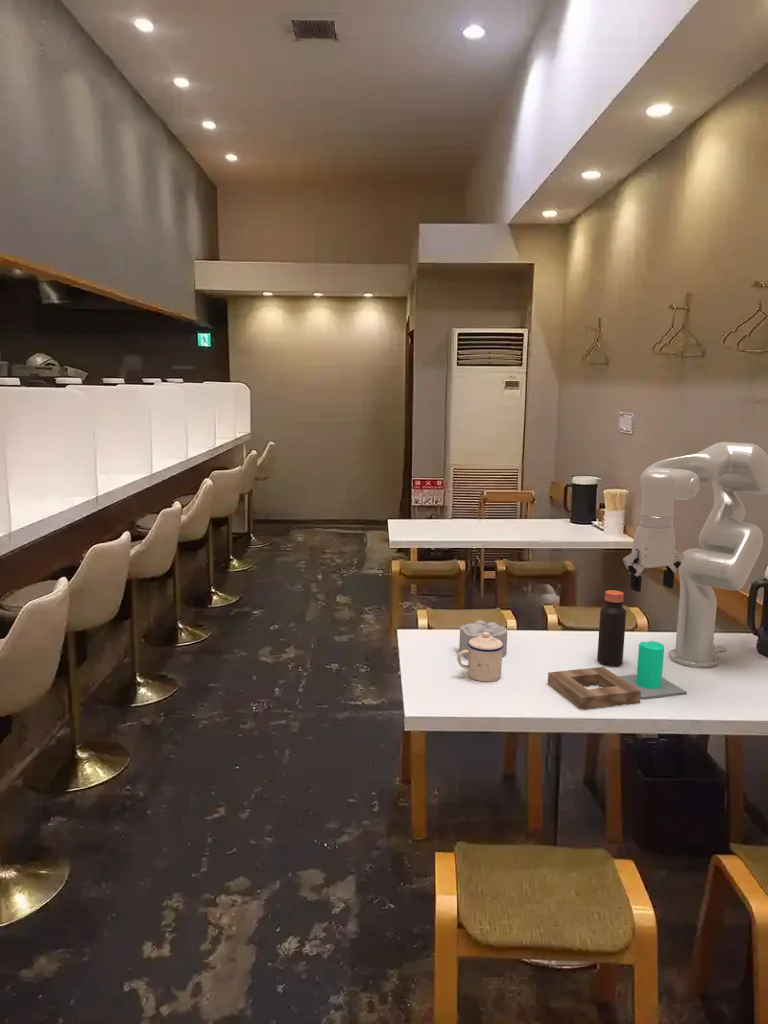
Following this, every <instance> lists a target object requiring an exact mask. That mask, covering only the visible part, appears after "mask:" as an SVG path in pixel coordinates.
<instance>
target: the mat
mask: <svg viewBox="0 0 768 1024" xmlns="http://www.w3.org/2000/svg"><path fill="white" fill-rule="evenodd" d="M618 676H619V677H620V678H622V679H623V680H625V681H626V682H628V683H629V684H631V685H633V686H634V687H636V688H637V689H639V690H640V691H641V698H640V700H650V699H656V698H666V697H675V696H682V695H687V694H688V691H686V690H684V689H683V688H681V687H680V686H678V685H676V684H674V683H673V682H671V681H669V680H667V679H666V678H665V677H663V676H662V683H661V687H660V688H657V689H648V688H644V687H641V686H639V685H637V683H636V678H637V673H636V674H628V675H627V674H626V675H618Z"/></svg>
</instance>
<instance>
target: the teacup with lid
mask: <svg viewBox="0 0 768 1024" xmlns="http://www.w3.org/2000/svg"><path fill="white" fill-rule="evenodd" d="M468 646H469V650H462V651H461V652H459V653H458V654H457V660H456V661H457V663H458V665H459V666H460V667H461V668H463V669H465V670H467V675H468V677H470V679H472V680H475V681H479V682H486V683H487V682H495V681H499V679H501V677H502V665H503V664H502V663H503V658H502V648H503V643H502V642H501V641H500V640H498V639H496V638H493V637H492V636H490V633H488V632H483V633H482V635H481V636H479V637H475V638H472V639H470V640H469V642H468ZM465 653H469V657H468V661H467V665H466V664H463V662H462V660H461V658H462V656H463V654H465Z"/></svg>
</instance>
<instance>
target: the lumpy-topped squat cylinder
mask: <svg viewBox="0 0 768 1024" xmlns="http://www.w3.org/2000/svg"><path fill="white" fill-rule="evenodd" d="M483 632H488V633H490V636H492V637H493V638H496V639H498V640H500V641H501V642H502V643H503V648H502V657H503V658H504V657H506V656H507V652H508V651H507V648H508V629H507V628H506V627H504V626H502V625H499V624H498V623H497V622H493V621H492V622H486V621H484V620H480V619H479V620H475V622H474V623H473V622H472V623H467V624H464V625H461V626H460V627H459V643H458V644H459V648H458V649H459V653H460V652H461V651H462V650H469V646H468V642H469V640H470V639H472V638H475V637H479V636H481V635H482V633H483ZM462 656H463V658H464V659H465V660H468V657H469V653H465V654H463V655H462Z"/></svg>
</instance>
